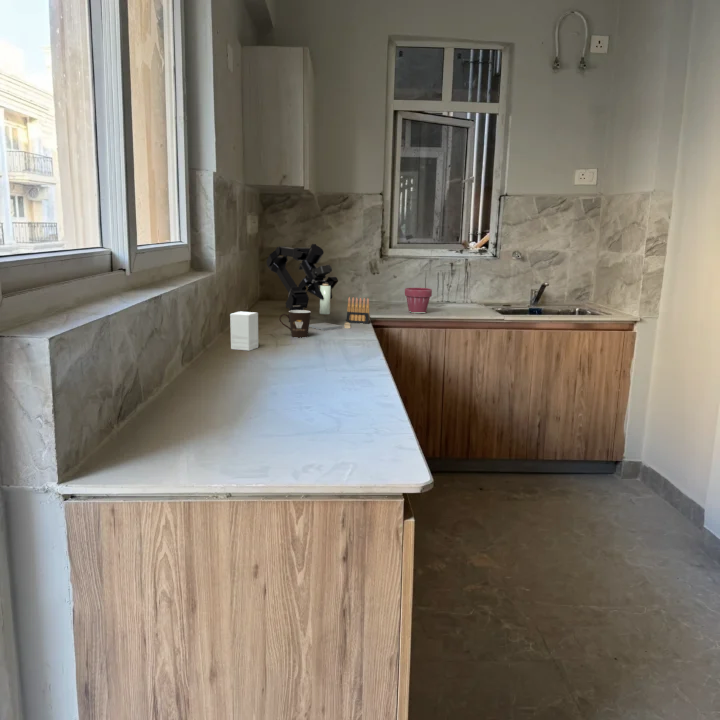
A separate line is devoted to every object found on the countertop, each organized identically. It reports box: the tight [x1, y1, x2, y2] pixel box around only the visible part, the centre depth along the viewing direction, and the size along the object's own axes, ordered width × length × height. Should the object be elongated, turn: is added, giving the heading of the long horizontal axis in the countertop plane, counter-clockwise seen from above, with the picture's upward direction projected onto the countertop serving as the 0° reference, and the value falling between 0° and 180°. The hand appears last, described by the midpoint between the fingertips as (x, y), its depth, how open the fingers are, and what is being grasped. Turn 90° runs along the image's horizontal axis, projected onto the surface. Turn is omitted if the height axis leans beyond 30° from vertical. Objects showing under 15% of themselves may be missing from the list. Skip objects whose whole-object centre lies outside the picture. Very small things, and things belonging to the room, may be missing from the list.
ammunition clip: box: [345, 296, 371, 325], centre depth 283 cm, size 11×2×12 cm, turn 78°
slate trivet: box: [309, 322, 343, 331], centre depth 267 cm, size 11×11×1 cm
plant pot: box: [404, 287, 433, 313], centre depth 326 cm, size 14×14×13 cm
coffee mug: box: [278, 309, 312, 339], centre depth 243 cm, size 12×9×10 cm
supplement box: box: [229, 310, 259, 351], centre depth 215 cm, size 7×7×13 cm
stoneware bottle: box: [319, 284, 332, 315], centre depth 265 cm, size 4×4×13 cm
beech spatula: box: [344, 321, 351, 329], centre depth 275 cm, size 13×2×1 cm, turn 1°
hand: (327, 298), depth 264 cm, fingers closed on stoneware bottle, 4 cm apart
